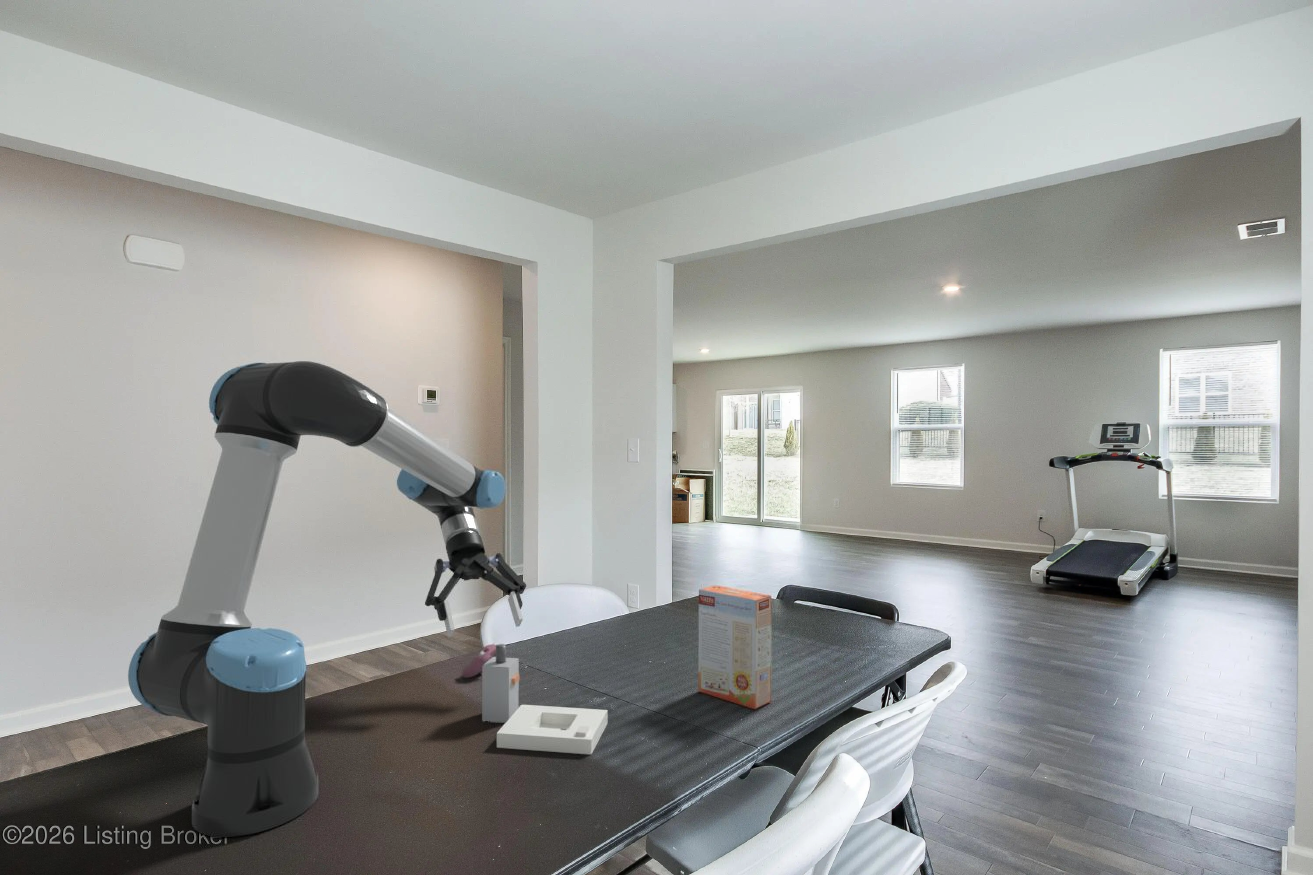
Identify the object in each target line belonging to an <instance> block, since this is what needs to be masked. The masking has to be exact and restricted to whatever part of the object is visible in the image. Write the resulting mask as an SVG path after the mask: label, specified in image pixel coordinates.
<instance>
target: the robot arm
mask: <svg viewBox="0 0 1313 875" xmlns="http://www.w3.org/2000/svg"><path fill="white" fill-rule="evenodd" d="M208 401H209V402H208V403H209V404H208V407H209V413H211V414H212V415H213V417H212V419H213V421H214V423H216V425H217V426H216V430H215V433H214V438H215V440H216V441H217V442H218V444H219V445H220V447H221V454H220V457H219V460H218V464H217V466H216V470H215V474H214V477H213V481H212V484H211V488H210V492H209V495H208V498H207V502H206V505H205V509H204V513H203V515H202V518H201V523H200V526H199V530H198V533H197V536H196V539H195V544H194V548H193V549H192V554H191V558H190V560H189V565H188V567H187V571H186V575H185V578H184V582H183V584H182V589H181V592H180V596H179V600H178V602H177V605H176V606H175V607H174V608H173V609H171V610H169V611H167V613H164V614H163V615H162V616H161V618H160V621H159V625H158V628H157V631H156V632H154V633H153V634H151V635H149V636H148V639H146V640H145V641H144V642H141V643H140V644H139V646H138V647H137V648H136V650H135V651H134V653H133V655H132V657H131V658H130V659H131V660H130V662H129V666H128V672H127V679H128V686H129V688H130V689H129V690H130V692H131V694H132V695H133V696H134V698H135V699H136V701H137V702H139V703H140V705H142V706H143V707H146V708H147V709H150V710H152V711H153V712H155V713H157V714H159V715H163V716H166V717H177V718H179V719H185V720H187V721H188V720H189V721H193V722H196V723H198V724H199V723H200V724H203V725H207V760H206V764H205V767H204V769H203V773H202V775H201V778H200V782H199V784H198V787H197V791H196V794H195V796H194V798H193V801H192V805H191V826H192V828H193V829H194V830H195V831H196V832H198V833H199V834H201V835H205V836H209V837H218V838H221V837H222V838H231V837H232V838H233V837H240V836H247V835H252V834H255V833H260V832H265V831H268V830H270V829H273V828H277V827H279V826H280V825H284V824H286V823H288V822H290V821H292V820H294V819H296V818H297V817H299V816H301V815H302V814H304V813H305V812H306V811H307V810H308V809H310V808H311V807H313V805H314V803H315V802H316V801H317V799H318V797H319V774H318V773H317V770H316V769H315V768H314V765H313V764H314V763H313V761H312V757H311V755H310V754H311V753H310V751H309V749H308V746H307V743H306V737H305V735H306V730H305V729H306V684H307V682H306V681H307V680H306V673H307V661H306V657H305V656H306V655H305V646H304V644H303V642H302V640H301V639H300V637H298V636H297V635H296V634H294V633H292V632H289V631H287V630H283V629H280V628H279V629H278V628H272V627H271V628H261V627H254V628H253V627H252V625H253V624H252V622H251V621H250V619H249V618H248V617H247V615H246V613H245V608H246V606H247V605H246V604H247V600H248V596H249V592H250V590H251V585H252V582H253V576H254V574H255V571H256V570H255V569H256V567H257V563H258V559H259V556H260V550H261V547H262V544H263V539H264V537H265V532H266V528H267V524H268V520H269V517H270V514H271V513H270V512H271V508H272V505H273V501H274V497H275V492H276V490H277V485H278V482H279V478H280V474H281V471H282V467H283V463H284V461H285V460H286V459H288V458H291V457H292V456H294V455H295V454H297V452H298V448H299V443H300V441H301V440H300V439H301V436H318V437H323V438H329V439H333V440H337V441H339V442H341V443H342V444H344V445H346V446H349V447H351V448H357V447H362V448H365V449H366V450H368V451H370V452H371V453H373V454H375V455H377V456H379V457H380V458H381V459H384V460H385V461H387V462H389V463H391V464H392V465H394V466H396V467H398V468H400V469H401V470H400V471H399V474H398V476H397V479H396V486H397V489H398V491H400V493H401V494H403V495H404V496H406V498H408V499H409V500H412V501H413V502H415V503H416V504H418V506H419V505H420V506H421V507H423V508H425V509H426V510H427V511H428V512H431V513H433V515H435V516H437V518H438V521H439V524H440V529H441V533H442V538H443V541H444V545H445V550H446V554H447V557H448V560H447V561H446V560H445V561H443V559H442V558H438V559H436V562H435V564H434V567H433V568H434V576H433V579H432V581H431V584H430V588H429V590H428V593H427V595H426V599H425V602H424V605H425V606H426V607H430V606H432V607H433V608H434V610H436V612H437V617H438V618H437V619H438V621H440V622H444V625H445V631H446V636H447V638H453V635H454V633H455V630H456V628H455V624H454V619H453V614H452V611H451V607H450V603H449V602H450V601H449V599H447V598H448V597H449V595H450V594H451V592H452V591H453V589H454V587H456V585H457V584H458V583H459V581H460V580H463V581H470V580H479V579H480V578H481V579H483V581H487V582H488V583H490V584H492V585H493V586H495V587H496V588H498V589H499V590H501V591H502V592H504V593H505V594H506V595H508V598H507V602H508V605H509V607H510V611H511V614H512V619H513V621H514V624H515V627H516V628H518V627H520V626H521V624H522V622H523V620H524V618H523V614H522V610H521V609H522V608H523V600H522V597H521V595H522V594H524V592H525V590H526V587H527V584H526V582H525V581H524V580H523V578H521V577H520V576H519V575H518V574H517V573H516V572H515V571H514V569H512V568H511V567H510V566H509V565H508V564H507V562H506V561H505V559H504V558H503V555H502V553H500V552H497V553H496V554H495V555H494V556H490V557H489V556H488V555H487V554H486V549H485V546H484V543H483V539H482V536H481V531H480V529H479V525H478V522H477V517H476V515H475V513H474V508H475V509H481V510H482V509H494V508H496V507H498V506H499V505H500V504H502V502H503V500H504V498H505V494H506V490H507V489H506V487H507V486H506V482H505V478H504V476H503V475H502V474H501V473H500V472H498V471H495V470H490V469H486V470H483V469H480V468H478V467H476V466H475V465H474V464H472V463H471V462H468V461H467V460H466V459H464V458H463V457H461V456H459V455H458V454H457V453H455V452H453V451H452V450H451V449H450V448H447V447H446V446H445V445H443V444H442V443H440V442H439V441H438V440H436V439H434V438H433V437H431V436H430V435H428V434H427V433H426V432H424V431H423V430H421V429H419V427H417V426H416V425H413V424H412V423H411V422H409V421H407V420H406V419H405V418H403V417H402V416H401V415H399V414H397V413H396V412H395V411H392V410H391V409H390V408H389V407H388V405H389V404H388V402H387V400H386V399H385V398H384V397H383V396H381V395H380V394H378V393H377V392H375V391H374V390H373V389H371V388H370V387H369V386H366V385H365V384H363V383H362V382H360V381H358V380H356V379H355V378H354V377H351V376H350V375H348V374H346V373H344V372H342V371H340V370H338V369H336V368H333V367H331V366H328V365H325V364H322V363H319V362H314V361H310V360H309V361H306V360H305V361H304V360H303V361H301V360H299V361H290V362H289V361H288V362H286V361H285V362H270V363H269V362H268V363H267V362H254V363H253V362H252V363H248V364H245V365H240V366H239V365H238V366H236V367H233V368H232V369H229V370H227V371H226V372H224V373H222V375H221V376H220V377H219V378H218V379H217V380H216V382H215V383H214V385H213V386H212V389H211V391H210V394H209V399H208ZM489 564H490V565H489ZM491 565H492V566H491ZM447 569H449V571H451V572H452V573H453V574H452V576H451V577H450V578H449V580H448V581H447V583H446V584H445V586H444V587H443V589H442V590H440V593H439V595H438V596H435V595H436V593H437V589H438V586H439V582H440V580H441V577H442V576H443V573H445V572H446V570H447ZM494 569H496V570H494Z"/></svg>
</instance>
